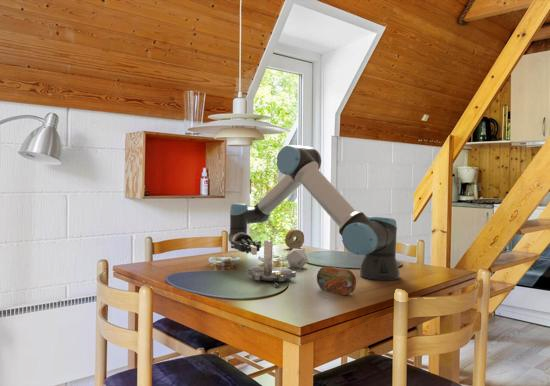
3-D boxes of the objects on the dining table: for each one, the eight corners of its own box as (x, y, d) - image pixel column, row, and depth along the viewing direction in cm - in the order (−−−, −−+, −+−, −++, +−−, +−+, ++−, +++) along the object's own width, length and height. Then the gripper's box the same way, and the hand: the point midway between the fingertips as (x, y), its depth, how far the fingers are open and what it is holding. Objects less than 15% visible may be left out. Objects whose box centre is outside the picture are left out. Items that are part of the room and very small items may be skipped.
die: (293, 271, 197) (308, 253, 197) (279, 259, 201) (293, 241, 201) (300, 275, 204) (314, 257, 204) (286, 263, 208) (300, 245, 208)
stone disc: (301, 247, 256) (301, 228, 256) (304, 248, 253) (305, 229, 252) (283, 248, 252) (284, 229, 251) (286, 249, 248) (287, 230, 248)
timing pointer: (273, 285, 170) (273, 282, 170) (277, 285, 171) (277, 282, 171) (275, 287, 167) (275, 285, 166) (279, 287, 167) (279, 284, 167)
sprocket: (268, 269, 191) (269, 234, 190) (303, 275, 181) (304, 238, 180) (239, 276, 177) (240, 238, 176) (275, 283, 167) (276, 243, 166)
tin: (315, 289, 167) (316, 264, 166) (321, 287, 169) (322, 263, 168) (351, 297, 156) (352, 271, 155) (357, 296, 158) (358, 270, 158)
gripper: (257, 250, 208) (271, 260, 185) (227, 251, 205) (237, 261, 182) (257, 232, 208) (271, 241, 185) (227, 233, 204) (238, 241, 182)
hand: (254, 251), depth 183 cm, fingers closed
